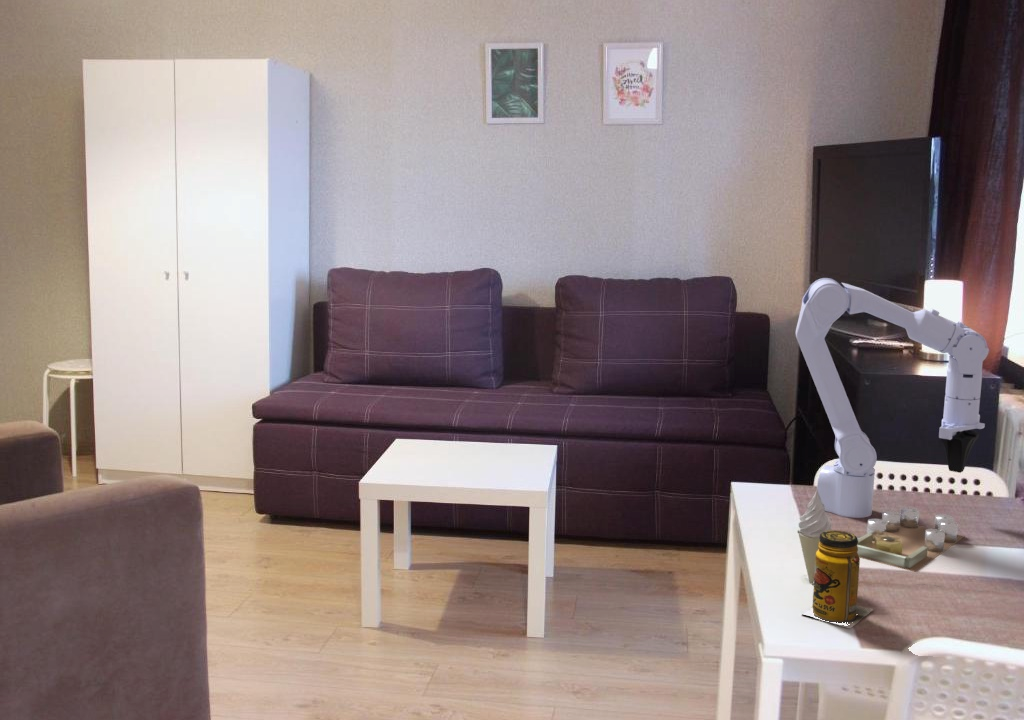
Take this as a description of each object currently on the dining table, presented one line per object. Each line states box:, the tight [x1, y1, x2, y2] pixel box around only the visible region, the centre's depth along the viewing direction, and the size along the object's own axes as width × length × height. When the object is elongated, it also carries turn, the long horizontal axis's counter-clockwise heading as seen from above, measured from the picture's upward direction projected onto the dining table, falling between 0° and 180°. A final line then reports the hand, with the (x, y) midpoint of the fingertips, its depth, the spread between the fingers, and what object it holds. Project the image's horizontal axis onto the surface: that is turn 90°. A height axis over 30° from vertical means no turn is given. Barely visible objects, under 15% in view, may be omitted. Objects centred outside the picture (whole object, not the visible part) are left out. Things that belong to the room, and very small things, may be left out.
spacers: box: [866, 506, 959, 553], centre depth 181 cm, size 12×13×3 cm
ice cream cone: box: [797, 489, 832, 584], centre depth 163 cm, size 5×5×15 cm
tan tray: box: [857, 525, 966, 573], centre depth 178 cm, size 12×22×3 cm, turn 138°
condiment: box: [812, 529, 874, 629], centre depth 152 cm, size 7×8×12 cm
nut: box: [874, 535, 903, 556], centre depth 173 cm, size 4×5×3 cm
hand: (956, 471), depth 190 cm, fingers closed
